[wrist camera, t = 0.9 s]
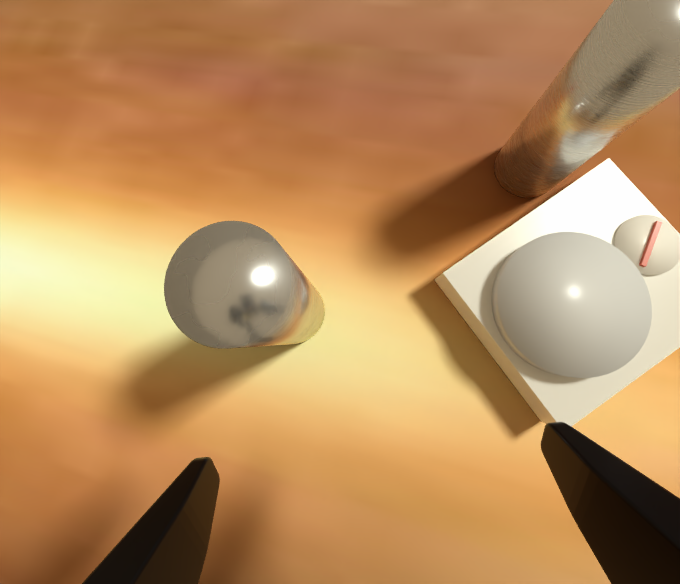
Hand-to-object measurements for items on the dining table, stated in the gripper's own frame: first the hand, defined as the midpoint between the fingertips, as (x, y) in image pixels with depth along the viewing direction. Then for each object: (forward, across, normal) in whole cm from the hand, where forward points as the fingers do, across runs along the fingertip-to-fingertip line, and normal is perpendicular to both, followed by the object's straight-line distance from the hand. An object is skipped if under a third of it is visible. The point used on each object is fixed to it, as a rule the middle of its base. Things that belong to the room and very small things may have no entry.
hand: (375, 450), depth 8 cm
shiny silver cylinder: (+15, +5, +4) cm, 16 cm away
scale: (+14, -15, +4) cm, 21 cm away
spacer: (+20, -14, -4) cm, 25 cm away
